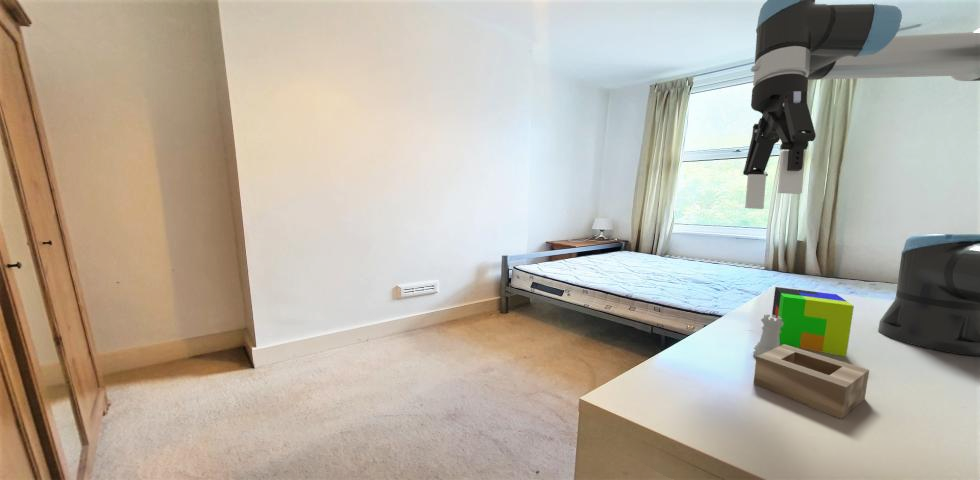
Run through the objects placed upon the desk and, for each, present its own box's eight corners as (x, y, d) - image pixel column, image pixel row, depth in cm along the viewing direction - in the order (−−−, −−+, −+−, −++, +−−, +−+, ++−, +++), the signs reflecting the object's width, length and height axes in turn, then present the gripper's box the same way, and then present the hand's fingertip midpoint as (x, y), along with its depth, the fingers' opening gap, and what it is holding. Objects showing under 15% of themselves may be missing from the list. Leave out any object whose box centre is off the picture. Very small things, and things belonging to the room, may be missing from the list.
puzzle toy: (829, 339, 73) (836, 294, 71) (846, 356, 64) (853, 305, 63) (770, 329, 78) (775, 286, 77) (778, 344, 70) (784, 296, 68)
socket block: (780, 369, 58) (784, 344, 58) (864, 398, 50) (869, 369, 49) (753, 383, 54) (756, 356, 53) (841, 419, 45) (846, 387, 44)
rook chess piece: (789, 365, 60) (795, 322, 59) (761, 362, 61) (766, 319, 60) (774, 354, 64) (779, 313, 63) (747, 351, 65) (752, 311, 64)
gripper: (730, 114, 73) (722, 211, 72) (788, 39, 49) (777, 183, 48) (772, 113, 70) (765, 214, 69) (855, 34, 47) (845, 185, 46)
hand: (770, 201), depth 59 cm, fingers open, 13 cm apart
